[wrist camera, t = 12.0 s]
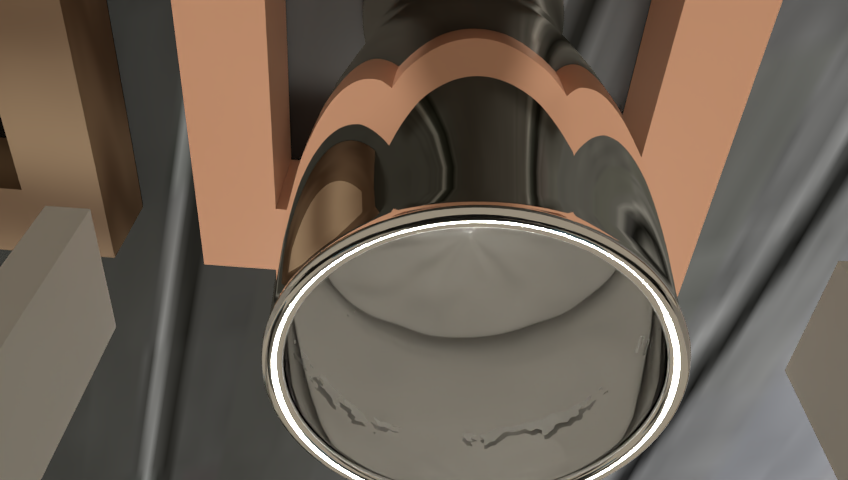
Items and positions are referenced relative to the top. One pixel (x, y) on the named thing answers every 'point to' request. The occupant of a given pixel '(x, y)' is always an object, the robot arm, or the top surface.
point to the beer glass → (473, 260)
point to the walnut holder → (63, 120)
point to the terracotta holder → (275, 171)
